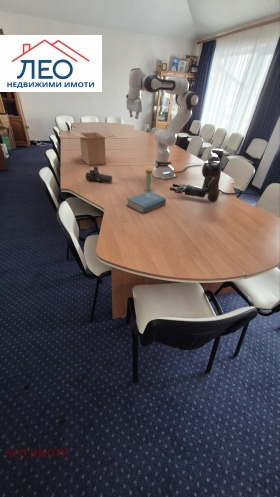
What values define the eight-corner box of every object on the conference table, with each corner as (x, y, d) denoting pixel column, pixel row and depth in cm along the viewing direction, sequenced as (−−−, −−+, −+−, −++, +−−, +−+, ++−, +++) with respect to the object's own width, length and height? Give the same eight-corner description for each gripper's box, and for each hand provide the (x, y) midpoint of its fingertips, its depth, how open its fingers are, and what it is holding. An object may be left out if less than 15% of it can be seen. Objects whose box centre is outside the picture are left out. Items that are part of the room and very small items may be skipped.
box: (116, 165, 229) (116, 136, 213) (83, 168, 214) (80, 137, 198) (102, 154, 259) (101, 128, 243) (71, 156, 244) (68, 129, 228)
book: (149, 197, 168) (149, 191, 165) (165, 204, 160) (166, 198, 157) (127, 205, 155) (127, 198, 152) (143, 213, 146) (143, 207, 143)
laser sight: (109, 184, 185) (109, 172, 179) (84, 181, 187) (82, 169, 182) (112, 180, 192) (112, 169, 186) (88, 177, 195) (87, 166, 189)
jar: (145, 188, 183) (147, 169, 173) (150, 189, 182) (152, 170, 173) (144, 190, 180) (145, 170, 170) (149, 191, 179) (151, 171, 169)
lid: (146, 171, 175) (146, 168, 174) (152, 172, 174) (153, 169, 173) (145, 173, 171) (145, 170, 170) (151, 174, 170) (151, 171, 169)
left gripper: (144, 97, 156) (143, 120, 164) (132, 95, 170) (131, 116, 179) (136, 97, 153) (135, 120, 162) (125, 95, 168) (124, 116, 176)
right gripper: (194, 183, 171) (174, 179, 175) (191, 189, 160) (169, 185, 164) (192, 192, 176) (172, 188, 180) (189, 198, 165) (168, 194, 169)
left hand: (133, 118), depth 170 cm, fingers open, 8 cm apart
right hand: (171, 186), depth 172 cm, fingers open, 8 cm apart
